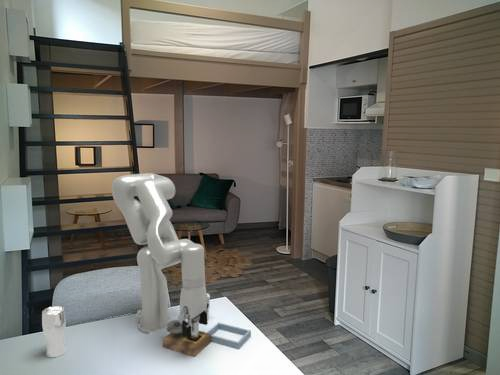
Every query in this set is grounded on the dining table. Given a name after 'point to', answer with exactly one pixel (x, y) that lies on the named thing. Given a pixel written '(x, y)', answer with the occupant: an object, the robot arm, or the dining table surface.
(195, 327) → the lock pin
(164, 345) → the block
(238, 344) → the tray
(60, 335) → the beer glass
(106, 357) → the dining table surface
